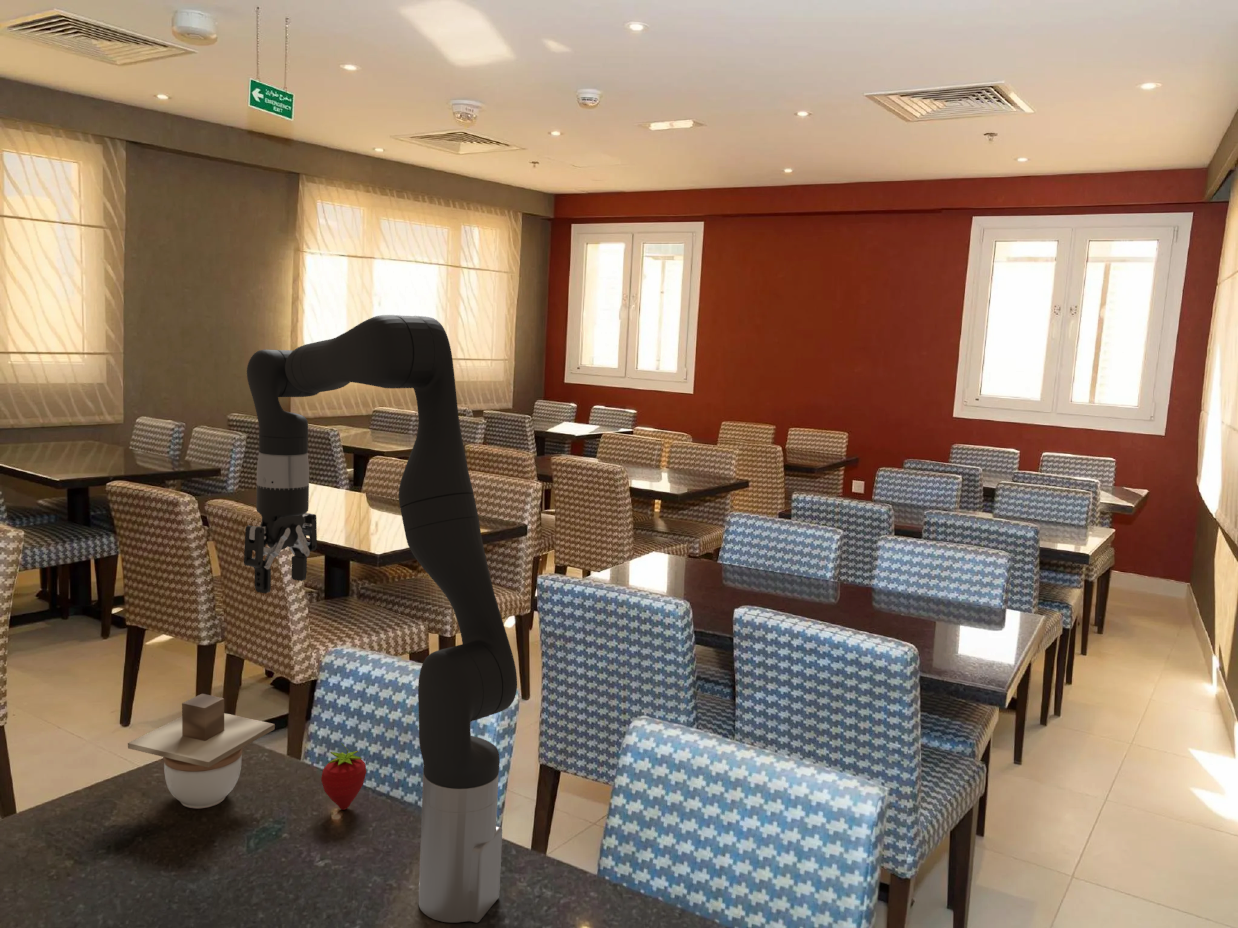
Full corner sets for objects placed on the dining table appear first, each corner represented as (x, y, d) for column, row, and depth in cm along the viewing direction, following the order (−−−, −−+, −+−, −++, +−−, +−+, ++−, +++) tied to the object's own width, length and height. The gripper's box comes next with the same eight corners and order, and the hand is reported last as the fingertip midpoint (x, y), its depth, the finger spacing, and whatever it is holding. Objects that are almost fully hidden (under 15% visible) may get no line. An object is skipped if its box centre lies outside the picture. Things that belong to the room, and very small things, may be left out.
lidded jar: (187, 824, 136) (188, 760, 135) (149, 798, 143) (148, 737, 141) (256, 798, 145) (257, 738, 143) (217, 775, 151) (217, 717, 150)
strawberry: (310, 816, 140) (312, 751, 139) (339, 793, 147) (341, 731, 146) (347, 824, 139) (348, 758, 137) (374, 801, 146) (376, 737, 145)
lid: (274, 728, 147) (274, 692, 146) (208, 767, 134) (208, 727, 133) (199, 712, 151) (199, 676, 150) (127, 748, 138) (127, 709, 137)
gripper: (273, 491, 140) (271, 600, 142) (332, 479, 153) (329, 579, 155) (230, 485, 142) (229, 593, 144) (292, 474, 155) (290, 572, 157)
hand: (281, 585), depth 150 cm, fingers open, 8 cm apart
